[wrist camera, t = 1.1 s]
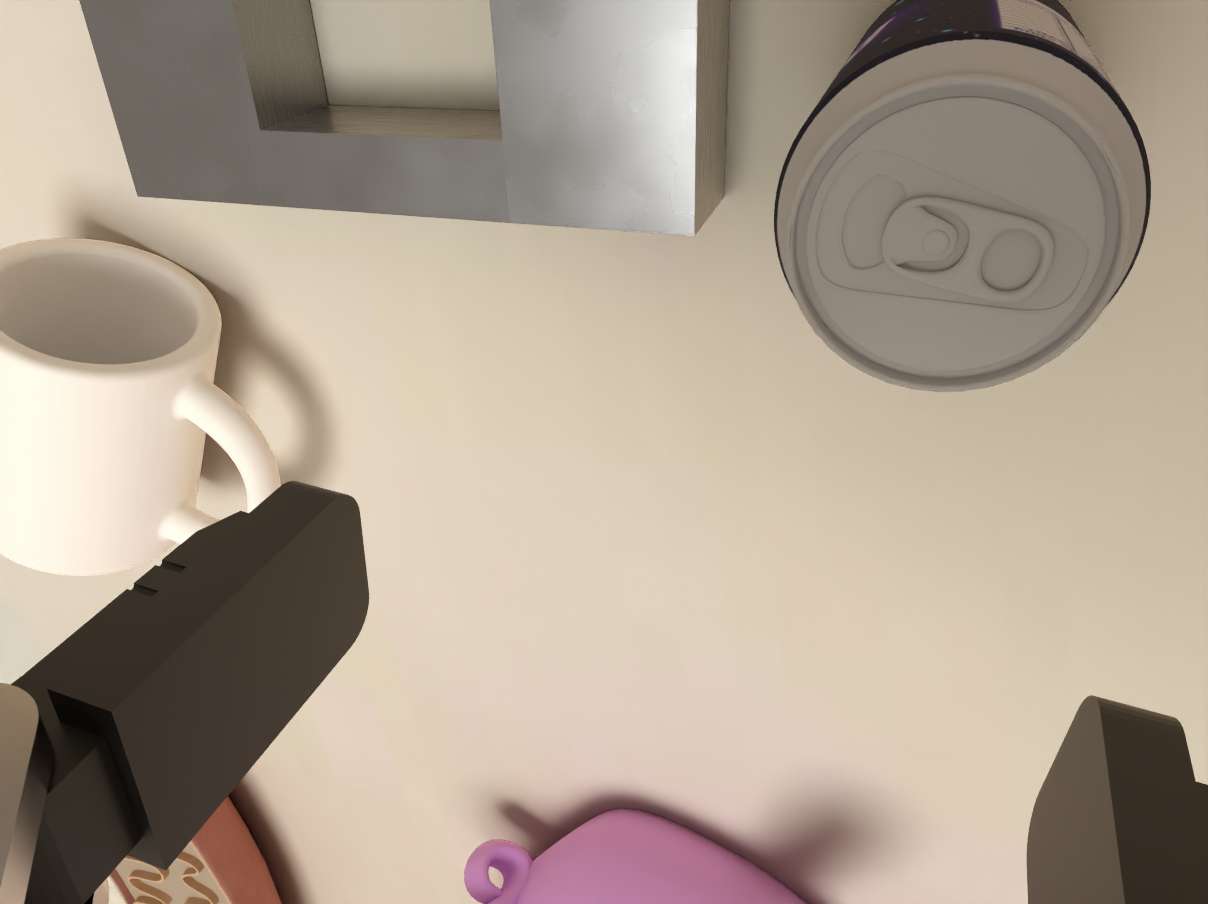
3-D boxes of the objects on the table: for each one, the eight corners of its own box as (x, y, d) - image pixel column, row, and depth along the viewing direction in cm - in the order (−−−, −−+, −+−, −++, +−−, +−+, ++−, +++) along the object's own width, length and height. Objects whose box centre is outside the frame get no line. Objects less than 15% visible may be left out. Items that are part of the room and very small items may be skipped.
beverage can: (885, -55, 23) (814, 4, 13) (1129, -6, 22) (1249, 98, 12) (819, 175, 26) (725, 358, 16) (1029, 227, 25) (1061, 457, 15)
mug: (80, 409, 41) (-85, 508, 35) (87, 211, 35) (-111, 288, 29) (314, 540, 41) (190, 667, 34) (361, 362, 35) (222, 474, 28)
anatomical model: (107, 698, 54) (37, 766, 50) (249, 729, 50) (186, 804, 46) (227, 939, 65) (178, 1009, 61) (349, 976, 62) (305, 1054, 58)
